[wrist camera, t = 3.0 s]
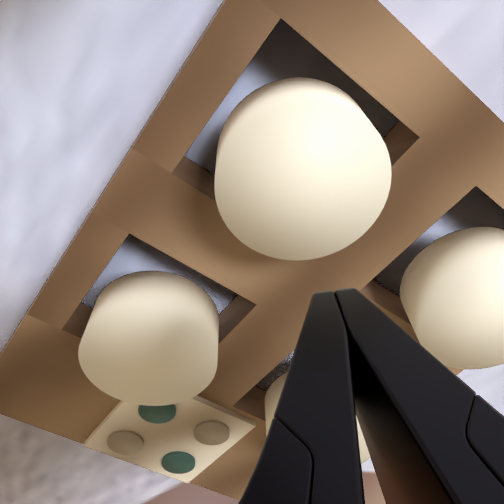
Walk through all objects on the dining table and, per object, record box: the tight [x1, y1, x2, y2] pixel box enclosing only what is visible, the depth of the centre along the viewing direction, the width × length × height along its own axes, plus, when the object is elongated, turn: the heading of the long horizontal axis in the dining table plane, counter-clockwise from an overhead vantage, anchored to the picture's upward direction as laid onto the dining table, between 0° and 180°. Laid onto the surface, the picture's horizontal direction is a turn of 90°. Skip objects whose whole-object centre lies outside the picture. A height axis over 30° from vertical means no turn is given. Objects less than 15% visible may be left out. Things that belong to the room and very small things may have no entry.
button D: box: [78, 271, 219, 406], centre depth 18 cm, size 5×5×2 cm
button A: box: [400, 227, 504, 369], centre depth 18 cm, size 5×5×2 cm
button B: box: [214, 77, 392, 261], centre depth 14 cm, size 5×5×2 cm
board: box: [0, 0, 504, 500], centre depth 21 cm, size 18×24×2 cm
